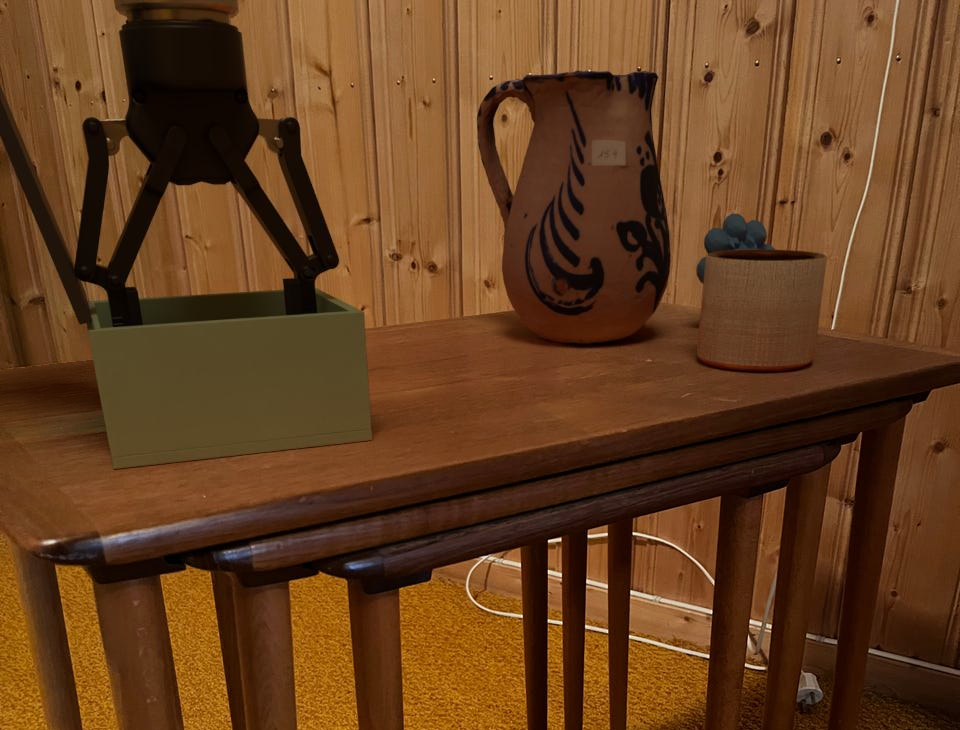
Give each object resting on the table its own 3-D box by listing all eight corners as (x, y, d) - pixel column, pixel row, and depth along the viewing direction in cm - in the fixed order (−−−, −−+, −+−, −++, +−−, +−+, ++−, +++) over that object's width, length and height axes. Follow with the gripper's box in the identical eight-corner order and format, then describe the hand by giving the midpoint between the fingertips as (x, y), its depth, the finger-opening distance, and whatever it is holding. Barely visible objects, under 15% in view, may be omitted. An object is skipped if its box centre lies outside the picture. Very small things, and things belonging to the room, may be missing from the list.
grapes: (720, 337, 105) (731, 216, 100) (678, 329, 110) (687, 214, 105) (797, 327, 110) (812, 212, 105) (754, 320, 116) (766, 209, 110)
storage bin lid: (-34, 3, 63) (-46, 6, 63) (-55, -34, 51) (-71, -31, 50) (86, 293, 72) (75, 296, 72) (92, 321, 60) (79, 325, 60)
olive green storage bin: (325, 398, 82) (315, 287, 78) (372, 440, 70) (364, 311, 66) (104, 419, 76) (82, 301, 72) (113, 469, 64) (87, 330, 60)
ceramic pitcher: (650, 356, 96) (668, 62, 85) (449, 347, 102) (441, 72, 91) (676, 328, 111) (694, 75, 100) (499, 321, 117) (498, 82, 106)
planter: (820, 355, 95) (835, 250, 91) (804, 377, 87) (820, 262, 82) (709, 348, 99) (718, 247, 95) (684, 368, 91) (692, 258, 86)
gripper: (-25, 7, 54) (57, 404, 64) (372, 20, 62) (390, 374, 72) (-16, 23, 61) (57, 382, 71) (342, 33, 68) (363, 357, 78)
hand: (225, 378), depth 71 cm, fingers open, 10 cm apart
